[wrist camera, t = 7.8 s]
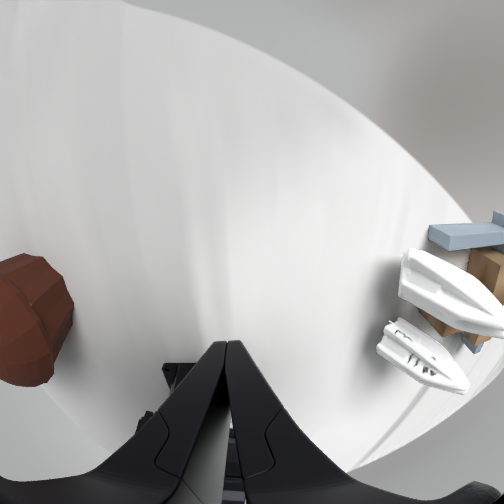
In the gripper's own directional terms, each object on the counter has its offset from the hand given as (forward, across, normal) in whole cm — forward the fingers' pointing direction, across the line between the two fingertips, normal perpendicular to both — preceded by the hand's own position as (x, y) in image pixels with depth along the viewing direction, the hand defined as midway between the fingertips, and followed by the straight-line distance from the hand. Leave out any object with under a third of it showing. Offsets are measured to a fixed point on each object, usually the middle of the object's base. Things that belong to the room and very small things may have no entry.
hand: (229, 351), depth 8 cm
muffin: (+12, +20, +4) cm, 24 cm away
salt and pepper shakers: (+11, -12, +7) cm, 18 cm away
